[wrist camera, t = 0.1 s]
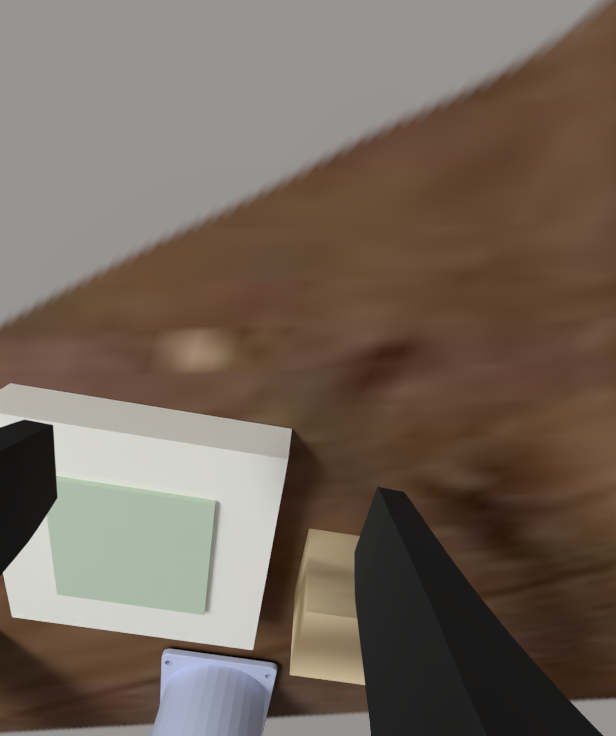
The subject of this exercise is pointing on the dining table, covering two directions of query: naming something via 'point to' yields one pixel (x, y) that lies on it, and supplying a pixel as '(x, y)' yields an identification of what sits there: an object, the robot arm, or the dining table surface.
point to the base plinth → (150, 519)
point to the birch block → (327, 611)
